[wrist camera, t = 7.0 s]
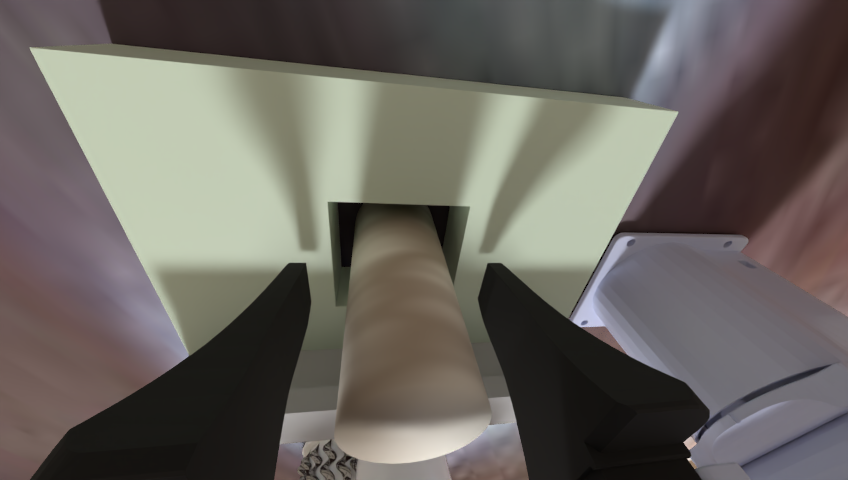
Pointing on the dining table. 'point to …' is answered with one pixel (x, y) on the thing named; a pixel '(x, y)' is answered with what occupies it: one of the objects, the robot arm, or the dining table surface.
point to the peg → (405, 345)
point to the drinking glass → (404, 470)
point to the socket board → (344, 185)
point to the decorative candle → (326, 462)
